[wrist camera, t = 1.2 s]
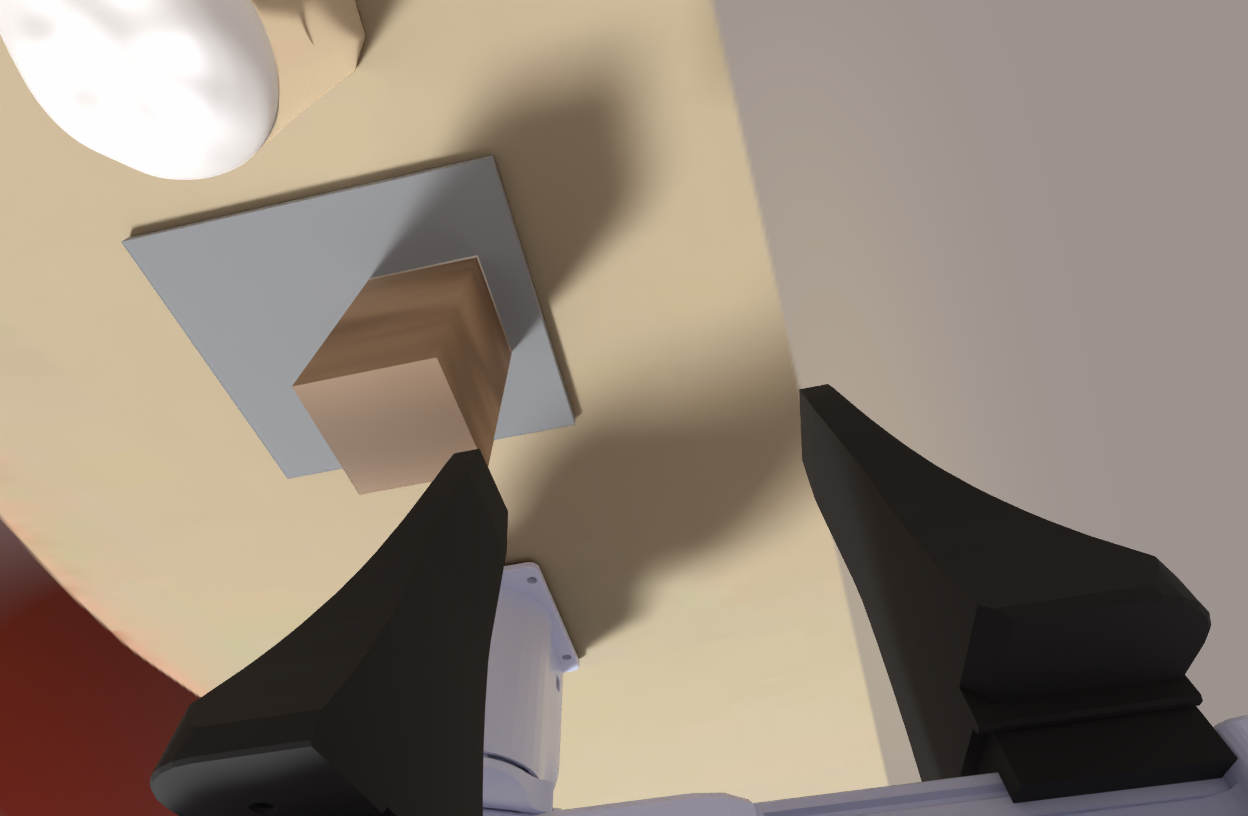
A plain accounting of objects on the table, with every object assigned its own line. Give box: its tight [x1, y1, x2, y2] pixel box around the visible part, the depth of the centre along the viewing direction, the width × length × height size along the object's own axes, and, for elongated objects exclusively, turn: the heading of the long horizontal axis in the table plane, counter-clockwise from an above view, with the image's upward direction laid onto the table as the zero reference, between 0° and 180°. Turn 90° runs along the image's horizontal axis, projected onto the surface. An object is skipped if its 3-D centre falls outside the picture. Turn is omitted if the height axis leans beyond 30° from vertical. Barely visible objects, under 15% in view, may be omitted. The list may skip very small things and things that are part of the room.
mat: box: [122, 155, 575, 479], centre depth 24 cm, size 11×13×1 cm
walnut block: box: [292, 255, 512, 495], centre depth 20 cm, size 4×4×7 cm
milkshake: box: [0, 0, 365, 180], centre depth 13 cm, size 5×5×10 cm
